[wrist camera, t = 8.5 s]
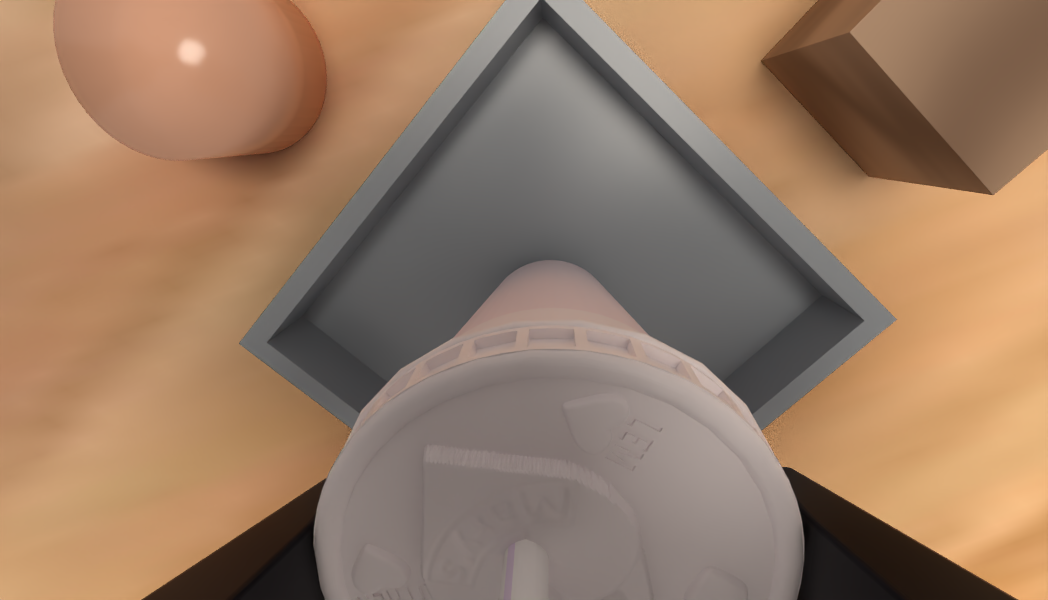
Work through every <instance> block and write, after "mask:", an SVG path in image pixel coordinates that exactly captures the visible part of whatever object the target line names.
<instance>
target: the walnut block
mask: <svg viewBox="0 0 1048 600" xmlns="http://www.w3.org/2000/svg"><path fill="white" fill-rule="evenodd" d="M761 62H762V63H763V64H764V65H765V66H766V67H767V68H768V69H769V70H770V71H771V72H772V73H773V74H774V75H775V77H776V78H777V79H778V80H779V81H780V82H781V83H782V84H783V85H784V86H785V87H786V88H787V89H788V90H789V92H790V93H791V94H792V95H793V96H794V97H795V98H796V99H797V100H798V101H799V102H800V103H801V104H802V105H803V107H804V108H805V109H806V110H807V111H808V112H809V113H810V114H811V115H812V116H813V117H814V118H815V119H816V120H817V122H818V123H819V124H820V125H821V126H822V127H823V128H824V129H825V130H826V131H827V132H828V133H829V134H830V135H831V137H832V138H833V139H834V140H835V141H836V142H837V143H838V144H839V145H840V146H841V147H842V148H843V149H844V150H845V152H846V153H847V154H848V155H849V156H850V157H851V158H852V159H853V160H854V161H855V162H856V163H857V164H858V165H859V167H860V168H861V169H862V170H863V171H864V172H865V173H866V174H867V175H868V176H869V177H875V178H882V179H889V180H896V181H902V182H909V183H916V184H922V185H929V186H936V187H942V188H949V189H956V190H963V191H969V192H976V193H983V194H989V195H994V194H995V193H997V192H998V191H999V190H1000V189H1001V188H1002V187H1004V186H1005V185H1006V184H1007V183H1008V182H1010V181H1011V180H1012V179H1013V178H1014V177H1015V176H1017V175H1018V174H1019V173H1020V172H1021V171H1023V170H1024V169H1025V168H1026V167H1027V166H1028V165H1030V164H1031V163H1032V162H1033V161H1034V160H1036V159H1037V158H1038V157H1039V156H1040V155H1041V154H1043V153H1044V152H1045V151H1046V150H1047V149H1048V0H818V1H817V2H816V3H815V4H814V6H813V7H812V8H811V9H810V10H809V11H808V12H807V13H806V14H805V15H804V16H803V17H802V18H801V19H800V20H799V21H798V22H797V23H796V24H795V25H794V27H793V28H792V29H791V30H790V31H789V32H788V33H787V34H786V35H785V36H784V37H783V38H782V39H781V40H780V41H779V42H778V43H777V44H776V45H775V46H774V48H773V49H772V50H771V51H770V52H769V53H768V54H767V55H766V56H765V57H764V58H763V59H762V60H761Z"/></svg>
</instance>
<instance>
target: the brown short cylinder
mask: <svg viewBox="0 0 1048 600" xmlns="http://www.w3.org/2000/svg"><path fill="white" fill-rule="evenodd" d="M54 38H55V46H56V50H57V54H58V58H59V62H60V65H61V67H62V70H63V73H64V75H65V78H66V80H67V82H68V84H69V86H70V88H71V90H72V91H73V93H74V95H75V96H76V98H77V100H78V101H79V103H80V104H81V105H82V107H83V108H84V109H85V111H86V112H87V113H88V115H89V116H90V117H91V118H92V119H93V120H94V121H95V122H96V123H97V124H98V125H99V126H100V127H101V128H102V129H103V130H104V131H106V132H107V133H108V134H109V135H110V136H112V137H113V138H115V139H116V140H117V141H119V142H120V143H122V144H124V145H126V146H127V147H129V148H131V149H133V150H135V151H137V152H140V153H142V154H145V155H148V156H151V157H155V158H159V159H165V160H182V161H184V160H195V159H206V158H218V157H229V156H241V155H252V154H263V153H271V152H276V151H279V150H282V149H285V148H287V147H289V146H291V145H293V144H294V143H296V142H297V141H299V140H300V139H301V138H302V137H303V136H304V135H306V134H307V132H308V131H309V130H310V129H311V128H312V126H313V125H314V123H315V122H316V120H317V118H318V116H319V114H320V112H321V109H322V106H323V103H324V99H325V94H326V85H327V74H326V64H325V59H324V55H323V51H322V48H321V45H320V42H319V40H318V38H317V35H316V33H315V31H314V29H313V28H312V26H311V24H310V23H309V21H308V20H307V18H306V17H305V16H304V15H303V13H302V12H301V11H300V10H299V9H298V8H297V7H296V6H295V4H294V3H293V2H292V1H290V0H55V7H54Z"/></svg>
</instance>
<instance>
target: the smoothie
mask: <svg viewBox="0 0 1048 600" xmlns="http://www.w3.org/2000/svg"><path fill="white" fill-rule="evenodd" d="M313 546H314V552H315V558H316V564H317V570H318V577H319V582H320V588H321V590H322V593H323V595H324V598H325V600H797V597H798V593H799V589H800V585H801V579H802V572H803V564H804V533H803V525H802V519H801V515H800V511H799V507H798V503H797V500H796V497H795V494H794V492H793V489H792V487H791V484H790V482H789V479H788V478H787V476H786V474H785V472H784V470H783V468H782V467H781V465H780V463H779V461H778V460H777V458H776V457H775V455H774V452H773V451H772V449H771V447H770V445H769V444H768V442H767V440H766V438H765V437H764V435H763V433H762V431H761V430H760V428H759V426H758V424H757V423H756V421H755V419H754V417H753V416H752V414H751V412H750V410H749V409H748V407H747V405H746V404H745V403H744V402H743V401H742V400H741V399H740V398H739V397H738V396H737V395H735V394H734V393H733V392H732V391H731V390H730V389H729V388H728V387H727V386H726V385H725V384H724V383H723V382H722V381H721V380H720V379H718V378H717V377H716V376H715V375H714V374H713V373H712V372H711V371H710V370H709V369H708V368H707V367H706V366H705V365H704V364H702V363H701V362H699V361H697V360H695V359H693V358H691V357H689V356H687V355H685V354H683V353H681V352H680V351H678V350H676V349H674V348H672V347H670V346H668V345H666V344H664V343H662V342H660V341H658V340H656V339H655V338H653V337H651V336H649V335H648V334H647V333H646V332H645V331H644V329H643V328H642V327H641V326H640V325H639V324H638V323H637V322H636V321H635V320H634V319H633V318H632V317H631V316H630V315H629V313H628V312H627V311H626V310H625V309H624V308H623V307H622V306H621V305H620V304H619V303H618V302H617V301H616V300H615V299H614V297H613V296H612V295H611V294H610V293H609V292H608V291H607V290H606V289H605V288H604V287H603V286H602V285H601V284H600V283H599V282H598V280H597V279H596V278H595V277H594V276H592V275H591V274H590V273H589V272H587V271H586V270H584V269H583V268H581V267H579V266H577V265H574V264H571V263H568V262H564V261H558V260H543V261H537V262H533V263H530V264H527V265H524V266H522V267H520V268H518V269H517V270H515V271H514V272H512V273H511V274H510V275H509V276H507V277H506V278H505V279H504V280H503V282H502V283H501V284H500V285H499V286H498V287H497V288H496V290H495V291H494V292H493V293H492V294H491V295H490V296H489V298H488V299H487V300H486V301H485V302H484V303H483V304H482V306H481V307H480V308H479V309H478V310H477V311H476V312H475V314H474V315H473V316H472V317H471V318H470V319H469V320H468V322H467V323H466V324H465V325H464V326H463V327H462V328H461V330H460V331H459V332H458V333H457V334H456V335H455V336H454V338H452V339H450V340H449V341H447V342H445V343H444V344H442V345H440V346H439V347H437V348H435V349H434V350H432V351H430V352H429V353H427V354H425V355H423V356H422V357H420V358H418V359H417V360H415V361H413V362H412V363H410V364H408V365H407V366H405V367H403V368H401V369H400V370H399V371H398V372H397V373H396V374H395V375H394V376H393V377H392V379H391V380H390V381H389V382H388V383H387V384H386V385H385V386H384V387H383V388H382V389H381V390H380V391H379V392H378V393H377V394H376V396H375V397H374V398H373V399H372V400H371V401H370V402H369V403H368V404H367V405H366V406H365V407H364V408H363V409H362V410H361V412H360V414H359V417H358V419H357V421H356V423H355V425H354V427H353V429H352V431H351V433H350V435H349V437H348V439H347V441H346V443H345V445H344V447H343V449H342V450H341V452H340V454H339V456H338V457H337V459H336V461H335V463H334V464H333V466H332V468H331V470H330V472H329V474H328V477H327V479H326V481H325V484H324V486H323V489H322V492H321V495H320V499H319V503H318V506H317V511H316V517H315V524H314V544H313Z"/></svg>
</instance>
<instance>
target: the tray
mask: <svg viewBox="0 0 1048 600" xmlns="http://www.w3.org/2000/svg"><path fill="white" fill-rule="evenodd" d="M543 260H558V261H564V262H568V263H571V264H574V265H577V266H579V267H581V268H583V269H584V270H586V271H587V272H589V273H590V274H591V275H592V276H594V277H595V278H596V279H597V280H598V282H599V283H600V284H601V285H602V286H603V287H604V288H605V289H606V290H607V291H608V292H609V293H610V294H611V295H612V296H613V297H614V299H615V300H616V301H617V302H618V303H619V304H620V305H621V306H622V307H623V308H624V309H625V310H626V311H627V312H628V313H629V315H630V316H631V317H632V318H633V319H634V320H635V321H636V322H637V323H638V324H639V325H640V326H641V327H642V328H643V329H644V331H645V332H646V333H647V334H648V335H649V336H651V337H653V338H655V339H656V340H658V341H660V342H662V343H664V344H666V345H668V346H670V347H672V348H674V349H676V350H678V351H680V352H681V353H683V354H685V355H687V356H689V357H691V358H693V359H695V360H697V361H699V362H701V363H702V364H704V365H705V366H706V367H707V368H708V369H709V370H710V371H711V372H712V373H713V374H714V375H715V376H716V377H717V378H718V379H720V380H721V381H722V382H723V383H724V384H725V385H726V386H727V387H728V388H729V389H730V390H731V391H732V392H733V393H734V394H735V395H737V396H738V397H739V398H740V399H741V400H742V401H743V402H744V403H745V404H746V405H747V407H748V409H749V410H750V412H751V414H752V416H753V417H754V419H755V421H756V423H757V424H758V426H759V428H760V430H761V431H762V430H763V429H764V428H765V427H767V426H768V425H769V424H770V423H771V422H773V421H774V420H775V419H776V418H778V417H779V416H780V415H781V414H782V413H784V412H785V411H786V410H787V409H788V408H790V407H791V406H792V405H793V404H795V403H796V402H797V401H798V400H799V399H801V398H802V397H803V396H804V395H806V394H807V393H808V392H809V391H810V390H812V389H813V388H814V387H815V386H816V385H818V384H819V383H820V382H821V381H823V380H824V379H825V378H826V377H827V376H829V375H830V374H831V373H832V372H834V371H835V370H836V369H837V368H838V367H840V366H841V365H842V364H843V363H844V362H846V361H847V360H848V359H849V358H851V357H852V356H853V355H854V354H855V353H857V352H858V351H859V350H860V349H862V348H863V347H864V346H865V345H866V344H868V343H869V342H870V341H871V340H873V339H874V338H875V337H876V336H877V335H879V334H880V333H881V332H882V331H883V330H885V329H886V328H887V327H888V326H890V325H891V324H892V323H893V322H894V321H896V320H897V319H896V318H895V317H894V316H893V315H892V314H891V313H890V312H889V311H888V310H887V309H886V308H885V307H884V306H883V305H882V304H881V303H880V302H879V301H878V300H877V299H876V298H875V297H874V296H873V295H872V294H871V293H870V292H869V291H868V290H867V289H866V288H865V287H864V286H863V285H862V284H861V283H860V282H859V281H858V280H857V279H856V278H855V277H854V276H853V275H852V274H851V273H850V272H849V270H848V269H847V268H846V267H845V266H844V265H843V264H842V263H841V262H840V261H839V260H838V259H837V258H836V257H835V256H834V255H833V254H832V253H831V252H830V251H829V250H828V249H827V248H826V247H825V246H824V245H823V244H822V243H821V242H820V241H819V240H818V239H817V238H816V237H815V236H814V235H813V234H812V233H811V232H810V231H809V230H808V229H807V228H806V227H805V226H804V225H803V224H802V223H801V222H800V221H799V220H798V219H797V218H796V217H795V216H794V215H793V214H792V213H791V211H790V210H789V209H788V208H787V207H786V206H785V205H784V204H783V203H782V202H781V201H780V200H779V199H778V198H777V197H776V196H775V195H774V194H773V193H772V192H771V191H770V190H769V189H768V188H767V187H766V186H765V185H764V184H763V183H762V182H761V181H760V180H759V179H758V178H757V177H756V176H755V175H754V174H753V173H752V172H751V171H750V170H749V169H748V168H747V167H746V166H745V165H744V164H743V163H742V162H741V161H740V160H739V159H738V158H737V157H736V156H735V155H734V153H733V152H732V151H731V150H730V149H729V148H728V147H727V146H726V145H725V144H724V143H723V142H722V141H721V140H720V139H719V138H718V137H717V136H716V135H715V134H714V133H713V132H712V131H711V130H710V129H709V128H708V127H707V126H706V125H705V124H704V123H703V122H702V121H701V120H700V119H699V118H698V117H697V116H696V115H695V114H694V113H693V112H692V111H691V110H690V109H689V108H688V107H687V106H686V105H685V104H684V103H683V102H682V101H681V100H680V99H679V98H678V97H677V96H676V94H675V93H674V92H673V91H672V90H671V89H670V88H669V87H668V86H667V85H666V84H665V83H664V82H663V81H662V80H661V79H660V78H659V77H658V76H657V75H656V74H655V73H654V72H653V71H652V70H651V69H650V68H649V67H648V66H647V65H646V64H645V63H644V62H643V61H642V60H641V59H640V58H639V57H638V56H637V55H636V54H635V53H634V52H633V51H632V50H631V49H630V48H629V47H628V46H627V45H626V44H625V43H624V42H623V41H622V40H621V39H620V38H619V36H618V35H617V34H616V33H615V32H614V31H613V30H612V29H611V28H610V27H609V26H608V25H607V24H606V23H605V22H604V21H603V20H602V19H601V18H600V17H599V16H598V15H597V14H596V13H595V12H594V11H593V10H592V9H591V8H590V7H589V6H588V5H587V4H586V3H585V2H584V1H583V0H505V2H504V3H503V4H502V5H501V7H500V8H499V9H498V11H497V12H496V13H495V14H494V16H493V17H492V18H491V20H490V21H489V22H488V23H487V25H486V26H485V27H484V29H483V30H482V31H481V32H480V34H479V35H478V36H477V38H476V39H475V40H474V41H473V43H472V44H471V45H470V47H469V48H468V49H467V50H466V52H465V53H464V54H463V56H462V57H461V58H460V60H459V61H458V62H457V63H456V65H455V66H454V67H453V69H452V70H451V71H450V72H449V74H448V75H447V76H446V78H445V79H444V80H443V81H442V83H441V84H440V85H439V87H438V88H437V89H436V90H435V92H434V93H433V94H432V96H431V97H430V98H429V99H428V101H427V102H426V103H425V105H424V106H423V107H422V108H421V110H420V111H419V112H418V114H417V115H416V116H415V117H414V119H413V120H412V121H411V123H410V124H409V125H408V126H407V128H406V129H405V130H404V132H403V133H402V134H401V135H400V137H399V138H398V139H397V141H396V142H395V143H394V144H393V146H392V147H391V148H390V150H389V151H388V152H387V153H386V155H385V156H384V157H383V159H382V160H381V161H380V163H379V164H378V165H377V166H376V168H375V169H374V170H373V172H372V173H371V174H370V175H369V177H368V178H367V179H366V181H365V182H364V183H363V184H362V186H361V187H360V188H359V190H358V191H357V192H356V193H355V195H354V196H353V197H352V199H351V200H350V201H349V202H348V204H347V205H346V206H345V208H344V209H343V210H342V211H341V213H340V214H339V215H338V217H337V218H336V219H335V220H334V222H333V223H332V224H331V226H330V227H329V228H328V229H327V231H326V232H325V233H324V235H323V236H322V237H321V238H320V240H319V241H318V242H317V244H316V245H315V246H314V247H313V249H312V250H311V251H310V253H309V254H308V255H307V256H306V258H305V259H304V260H303V262H302V263H301V264H300V265H299V267H298V268H297V269H296V271H295V272H294V273H293V275H292V276H291V277H290V278H289V280H288V281H287V282H286V284H285V285H284V286H283V287H282V289H281V290H280V291H279V293H278V294H277V295H276V296H275V298H274V299H273V300H272V302H271V303H270V304H269V305H268V307H267V308H266V309H265V311H264V312H263V313H262V314H261V316H260V317H259V318H258V320H257V321H256V322H255V323H254V325H253V326H252V327H251V329H250V330H249V331H248V332H247V334H246V335H245V336H244V338H243V339H242V340H241V341H240V343H239V344H240V345H241V346H243V347H244V348H245V349H247V350H248V351H249V352H251V353H252V354H253V355H255V356H256V357H257V358H259V359H260V360H261V361H263V362H264V363H265V364H267V365H268V366H269V367H271V368H272V369H273V370H274V371H276V372H277V373H278V374H280V375H281V376H282V377H284V378H285V379H286V380H288V381H289V382H290V383H292V384H293V385H294V386H296V387H297V388H298V389H300V390H301V391H302V392H304V393H305V394H306V395H308V396H309V397H310V398H312V399H313V400H314V401H316V402H317V403H318V404H319V405H321V406H322V407H323V408H325V409H326V410H327V411H329V412H330V413H331V414H333V415H334V416H335V417H337V418H338V419H339V420H341V421H342V422H343V423H345V424H346V425H347V426H349V427H350V428H351V429H353V427H354V425H355V423H356V421H357V419H358V417H359V414H360V412H361V410H362V409H363V408H364V407H365V406H366V405H367V404H368V403H369V402H370V401H371V400H372V399H373V398H374V397H375V396H376V394H377V393H378V392H379V391H380V390H381V389H382V388H383V387H384V386H385V385H386V384H387V383H388V382H389V381H390V380H391V379H392V377H393V376H394V375H395V374H396V373H397V372H398V371H399V370H400V369H401V368H403V367H405V366H407V365H408V364H410V363H412V362H413V361H415V360H417V359H418V358H420V357H422V356H423V355H425V354H427V353H429V352H430V351H432V350H434V349H435V348H437V347H439V346H440V345H442V344H444V343H445V342H447V341H449V340H450V339H452V338H454V336H455V335H456V334H457V333H458V332H459V331H460V330H461V328H462V327H463V326H464V325H465V324H466V323H467V322H468V320H469V319H470V318H471V317H472V316H473V315H474V314H475V312H476V311H477V310H478V309H479V308H480V307H481V306H482V304H483V303H484V302H485V301H486V300H487V299H488V298H489V296H490V295H491V294H492V293H493V292H494V291H495V290H496V288H497V287H498V286H499V285H500V284H501V283H502V282H503V280H504V279H505V278H506V277H507V276H509V275H510V274H511V273H512V272H514V271H515V270H517V269H518V268H520V267H522V266H524V265H527V264H530V263H533V262H537V261H543Z"/></svg>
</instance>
